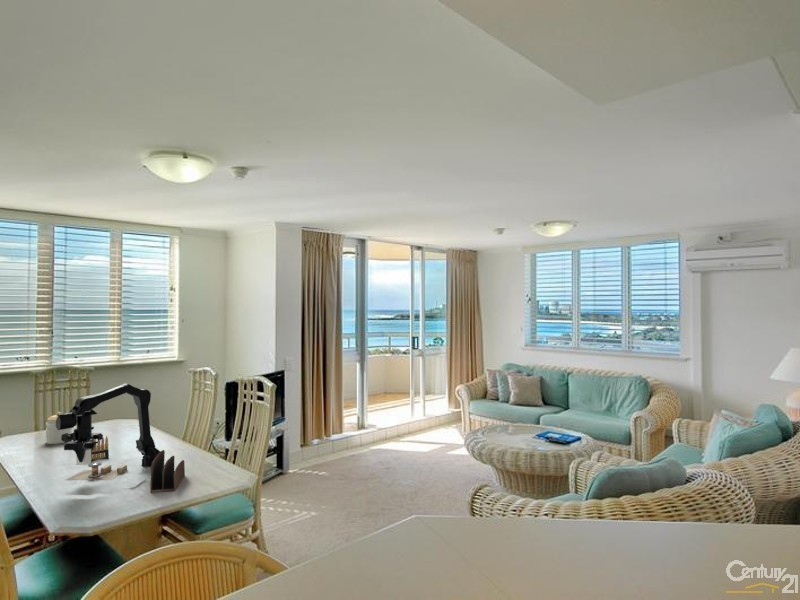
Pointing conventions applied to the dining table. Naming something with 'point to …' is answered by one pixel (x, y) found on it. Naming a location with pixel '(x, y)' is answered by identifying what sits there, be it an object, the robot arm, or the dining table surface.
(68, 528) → the dining table surface
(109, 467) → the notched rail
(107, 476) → the board
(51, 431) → the jar
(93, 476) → the bobbin
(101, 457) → the ammunition clip
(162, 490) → the letter holder
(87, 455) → the white block
